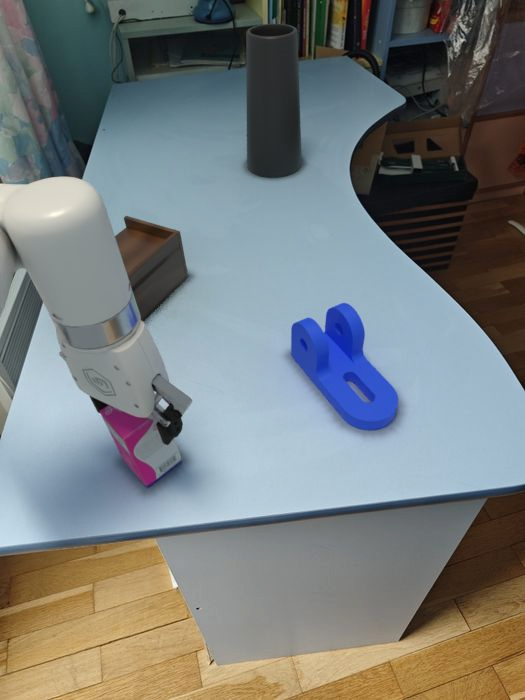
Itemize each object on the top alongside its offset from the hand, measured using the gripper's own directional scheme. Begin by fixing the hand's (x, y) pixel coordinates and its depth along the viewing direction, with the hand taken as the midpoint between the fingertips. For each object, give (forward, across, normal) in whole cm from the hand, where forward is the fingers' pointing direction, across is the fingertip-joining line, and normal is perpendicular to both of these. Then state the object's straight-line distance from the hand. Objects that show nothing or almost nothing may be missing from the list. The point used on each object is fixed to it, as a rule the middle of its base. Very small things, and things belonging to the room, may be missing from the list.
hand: (140, 419), depth 58 cm
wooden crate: (+9, -24, +27) cm, 37 cm away
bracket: (+10, +18, +24) cm, 31 cm away
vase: (+10, -24, +82) cm, 86 cm away
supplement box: (+10, 0, 0) cm, 10 cm away
